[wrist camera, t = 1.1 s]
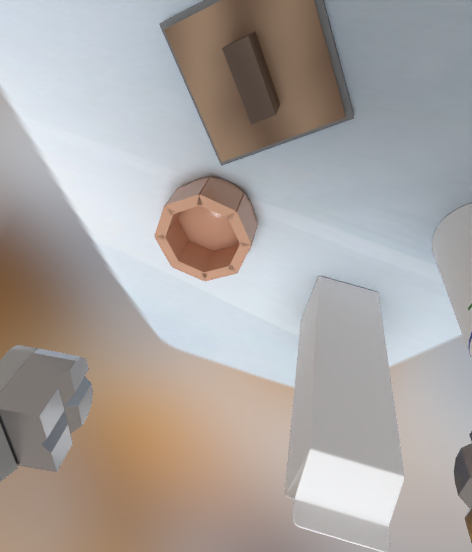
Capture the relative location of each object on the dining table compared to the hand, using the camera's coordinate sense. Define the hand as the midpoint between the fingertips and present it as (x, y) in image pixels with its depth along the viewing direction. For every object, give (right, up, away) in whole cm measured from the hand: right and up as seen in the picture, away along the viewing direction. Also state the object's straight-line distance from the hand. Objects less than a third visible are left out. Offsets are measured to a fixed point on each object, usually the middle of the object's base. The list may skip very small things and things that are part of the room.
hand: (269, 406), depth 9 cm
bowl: (-3, +8, +31) cm, 32 cm away
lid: (+1, +18, +22) cm, 28 cm away
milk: (+10, 0, +34) cm, 35 cm away
